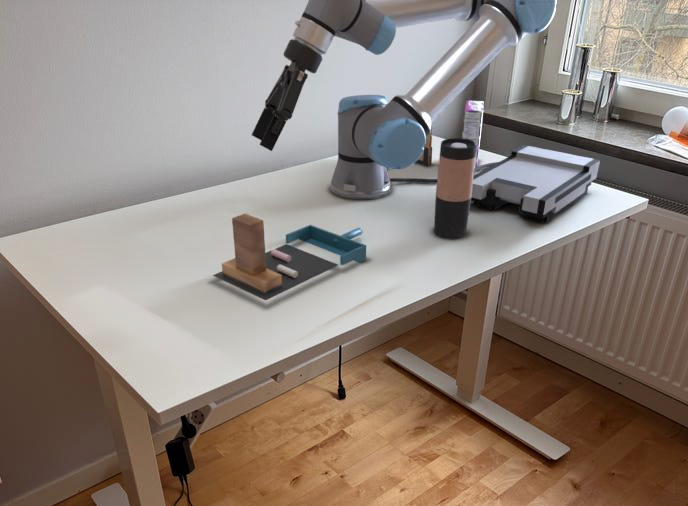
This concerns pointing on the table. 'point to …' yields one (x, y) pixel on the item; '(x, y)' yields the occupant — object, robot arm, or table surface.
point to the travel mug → (454, 187)
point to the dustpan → (332, 242)
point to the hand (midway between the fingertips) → (261, 143)
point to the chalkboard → (299, 262)
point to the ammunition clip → (426, 152)
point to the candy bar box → (473, 124)
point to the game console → (535, 182)
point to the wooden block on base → (250, 256)
